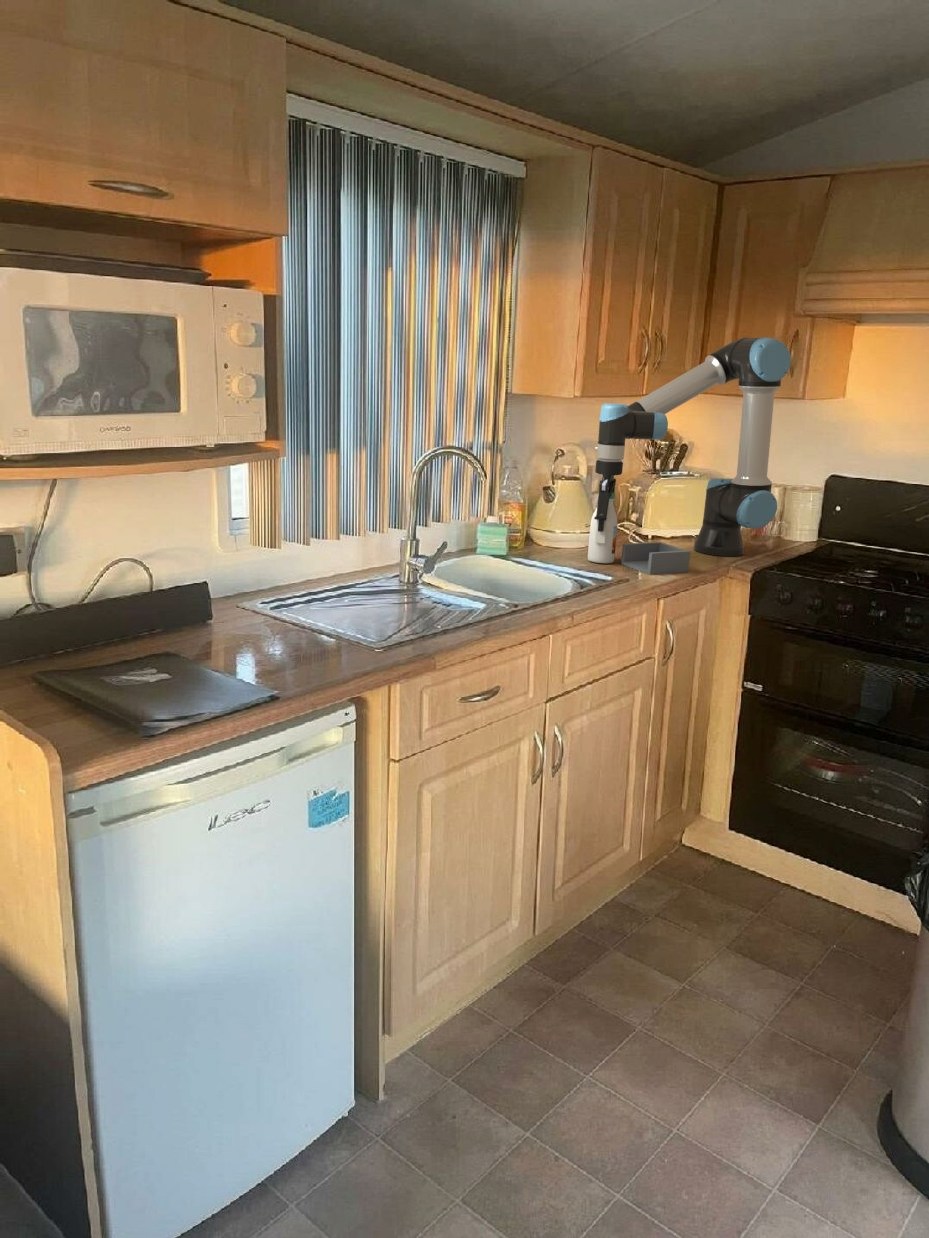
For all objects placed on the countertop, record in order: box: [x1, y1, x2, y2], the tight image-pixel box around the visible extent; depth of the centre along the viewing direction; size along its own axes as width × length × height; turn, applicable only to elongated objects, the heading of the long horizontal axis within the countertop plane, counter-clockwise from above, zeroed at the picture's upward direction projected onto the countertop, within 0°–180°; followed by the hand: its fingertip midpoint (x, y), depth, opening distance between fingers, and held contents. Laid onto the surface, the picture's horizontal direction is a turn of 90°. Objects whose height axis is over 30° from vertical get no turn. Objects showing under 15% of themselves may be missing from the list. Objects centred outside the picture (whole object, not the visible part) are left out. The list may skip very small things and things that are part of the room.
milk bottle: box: [587, 492, 618, 564], centre depth 276 cm, size 8×8×20 cm
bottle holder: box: [620, 541, 691, 575], centre depth 273 cm, size 13×13×6 cm
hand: (602, 539), depth 277 cm, fingers closed on milk bottle, 7 cm apart
